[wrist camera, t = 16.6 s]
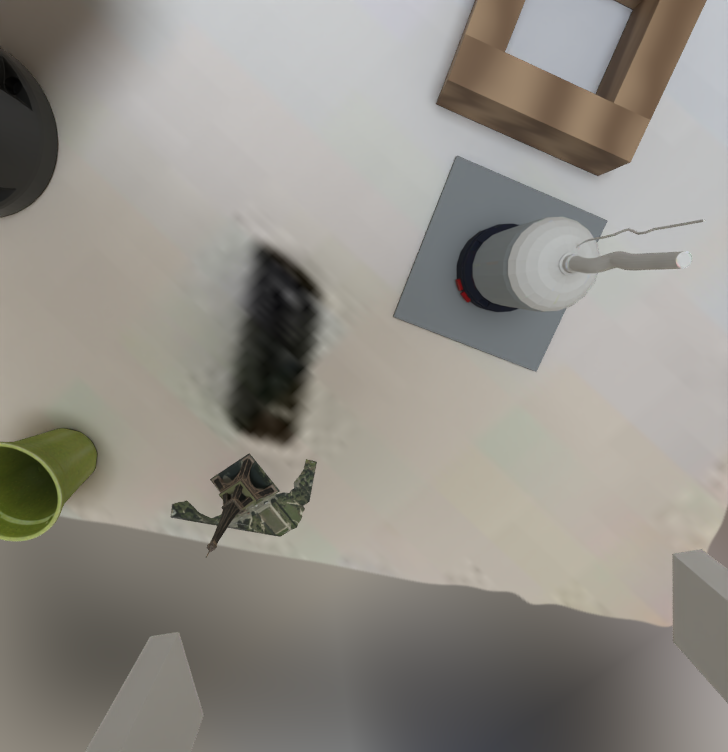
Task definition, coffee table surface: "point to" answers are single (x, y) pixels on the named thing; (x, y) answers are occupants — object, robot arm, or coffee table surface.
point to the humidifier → (544, 264)
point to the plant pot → (41, 480)
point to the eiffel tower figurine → (252, 501)
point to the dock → (569, 84)
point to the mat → (441, 253)
